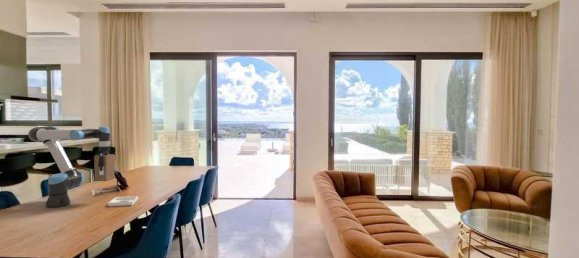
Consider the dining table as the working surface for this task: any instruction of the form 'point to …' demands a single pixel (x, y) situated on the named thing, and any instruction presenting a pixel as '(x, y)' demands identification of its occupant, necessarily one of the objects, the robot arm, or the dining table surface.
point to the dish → (123, 201)
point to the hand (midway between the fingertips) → (104, 173)
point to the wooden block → (105, 168)
